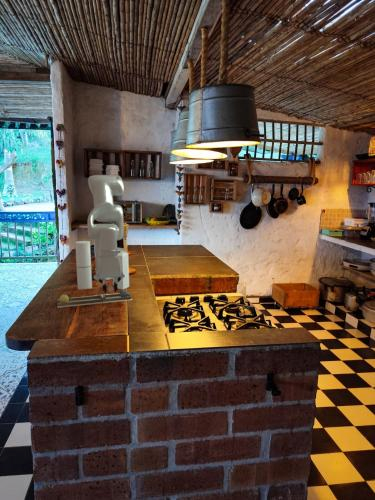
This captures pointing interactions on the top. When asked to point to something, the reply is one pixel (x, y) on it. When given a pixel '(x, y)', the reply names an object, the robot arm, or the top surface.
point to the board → (94, 299)
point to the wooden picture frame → (81, 301)
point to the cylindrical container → (83, 265)
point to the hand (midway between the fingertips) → (110, 291)
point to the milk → (123, 269)
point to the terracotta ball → (110, 288)
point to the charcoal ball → (123, 293)
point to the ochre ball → (64, 299)
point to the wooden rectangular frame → (115, 298)
